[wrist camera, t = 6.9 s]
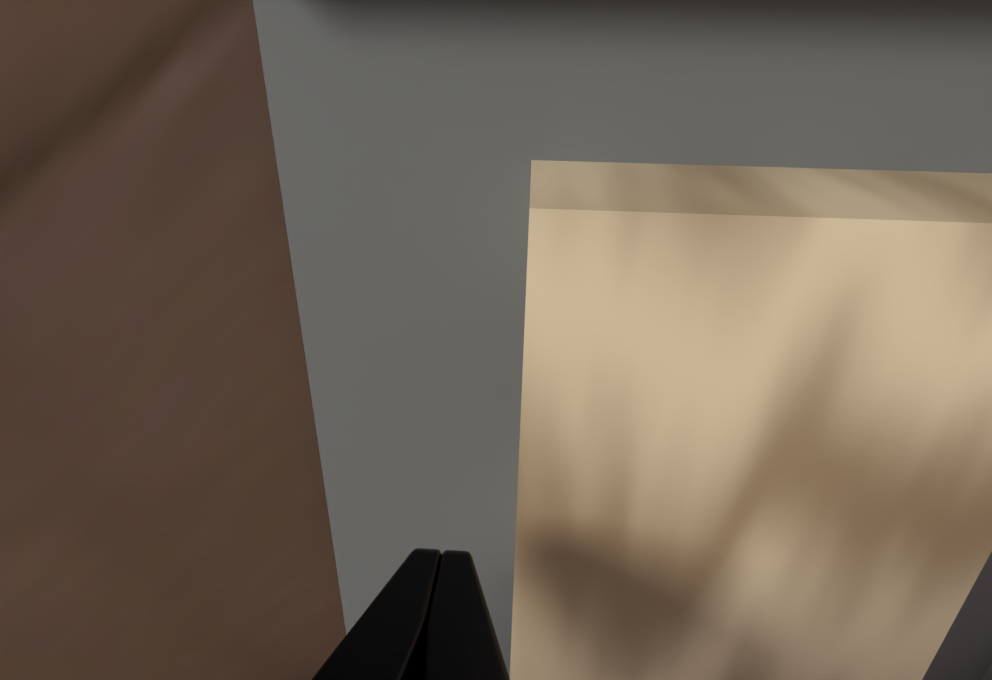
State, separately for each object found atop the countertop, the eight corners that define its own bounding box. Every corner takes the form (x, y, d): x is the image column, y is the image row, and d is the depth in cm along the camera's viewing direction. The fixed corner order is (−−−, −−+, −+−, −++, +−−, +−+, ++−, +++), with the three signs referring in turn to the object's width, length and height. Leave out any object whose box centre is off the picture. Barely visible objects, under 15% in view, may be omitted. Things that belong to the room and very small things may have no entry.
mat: (981, 705, 18) (1030, 783, 16) (357, 664, 18) (338, 733, 17) (1497, -110, 9) (1739, -139, 7) (247, -120, 10) (182, -150, 8)
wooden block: (514, 568, 15) (841, 587, 15) (509, 682, 13) (906, 709, 12) (531, 160, 11) (1006, 173, 10) (529, 208, 8) (1165, 229, 8)
